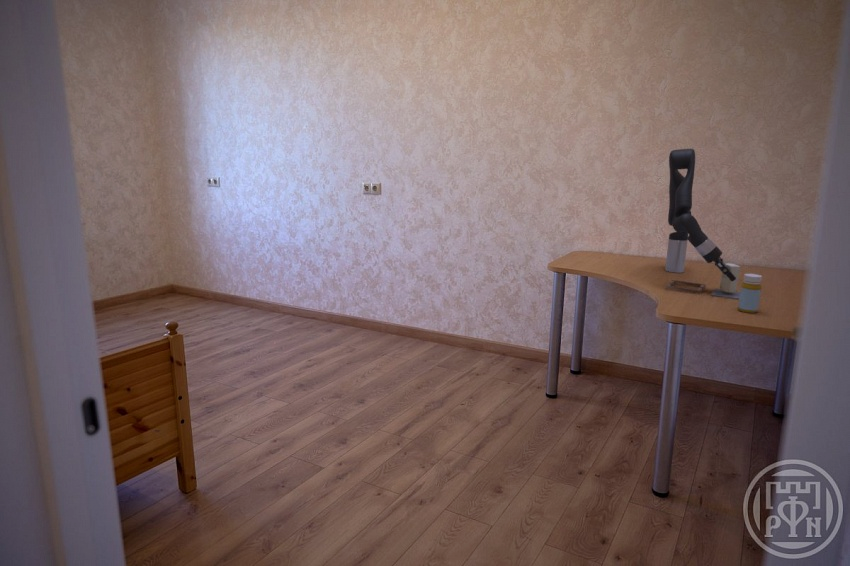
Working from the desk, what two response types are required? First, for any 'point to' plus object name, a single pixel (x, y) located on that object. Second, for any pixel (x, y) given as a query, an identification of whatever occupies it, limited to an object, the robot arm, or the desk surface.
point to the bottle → (750, 293)
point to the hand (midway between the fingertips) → (733, 278)
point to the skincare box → (726, 282)
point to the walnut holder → (699, 290)
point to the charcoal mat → (726, 294)
